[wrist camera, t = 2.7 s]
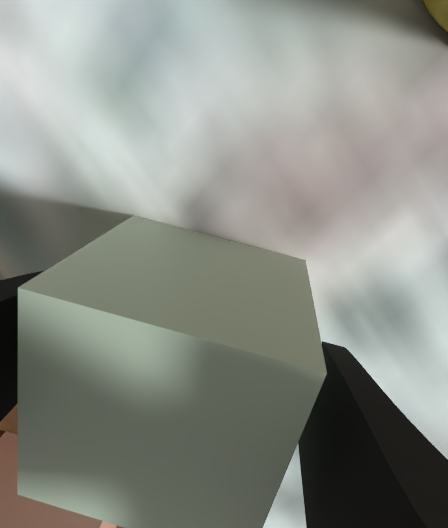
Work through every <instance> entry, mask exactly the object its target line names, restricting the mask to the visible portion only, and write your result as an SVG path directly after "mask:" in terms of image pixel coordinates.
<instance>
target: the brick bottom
mask: <svg viewBox="0 0 448 528" xmlns="http://www.w3.org/2000/svg"><path fill="white" fill-rule="evenodd" d="M326 374H327V371H326V365H325V360H324V355H323V350H322V344H321V339H320V334H319V329H318V323H317V318H316V313H315V308H314V302H313V297H312V292H311V287H310V281H309V276H308V271H307V266H306V260H302V259H299V258H295V257H291V256H287V255H283V254H279V253H276V252H272V251H268V250H264V249H260V248H256V247H253V246H249V245H245V244H241V243H237V242H233V241H230V240H226V239H222V238H218V237H214V236H210V235H207V234H203V233H199V232H195V231H191V230H187V229H184V228H180V227H176V226H172V225H168V224H164V223H161V222H157V221H153V220H149V219H145V218H141V217H138V216H134V215H133V216H132V217H130V218H129V219H127V220H125V221H124V222H122V223H121V224H119V225H117V226H116V227H114V228H113V229H111V230H109V231H108V232H106V233H105V234H103V235H101V236H100V237H98V238H97V239H95V240H93V241H92V242H90V243H89V244H87V245H85V246H84V247H82V248H81V249H79V250H77V251H76V252H74V253H73V254H71V255H69V256H68V257H66V258H65V259H63V260H61V261H60V262H58V263H57V264H55V265H53V266H52V267H50V268H49V269H47V270H45V271H44V272H42V273H41V274H39V275H37V276H36V277H34V278H33V279H31V280H29V281H28V282H26V283H25V284H23V285H21V286H20V287H18V449H17V495H20V496H23V497H27V498H30V499H33V500H37V501H40V502H43V503H46V504H50V505H53V506H56V507H59V508H63V509H66V510H69V511H72V512H76V513H79V514H82V515H85V516H89V517H92V518H95V519H98V520H102V521H105V522H108V523H112V524H115V525H118V526H121V527H125V528H263V525H264V523H265V520H266V518H267V516H268V513H269V511H270V508H271V506H272V504H273V501H274V499H275V496H276V494H277V492H278V489H279V487H280V484H281V482H282V480H283V477H284V475H285V473H286V470H287V468H288V465H289V463H290V461H291V458H292V456H293V453H294V451H295V449H296V446H297V444H298V441H299V439H300V437H301V434H302V432H303V429H304V427H305V425H306V422H307V420H308V417H309V415H310V413H311V410H312V408H313V405H314V403H315V401H316V398H317V396H318V393H319V391H320V389H321V386H322V384H323V382H324V379H325V377H326Z"/></svg>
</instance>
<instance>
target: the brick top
mask: <svg viewBox="0 0 448 528" xmlns="http://www.w3.org/2000/svg"><path fill="white" fill-rule="evenodd" d="M17 449H18V435H16V434H13V433H9V432H5V433H4V434H3V435H2V436H1V437H0V528H116V526H117V525H115V524H112V523H108V522H105V521H102V520H98V519H95V518H92V517H89V516H85V515H82V514H79V513H76V512H72V511H69V510H66V509H63V508H59V507H56V506H53V505H50V504H46V503H43V502H40V501H37V500H33V499H30V498H27V497H23V496H20V495H17Z"/></svg>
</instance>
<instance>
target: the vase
mask: <svg viewBox="0 0 448 528" xmlns="http://www.w3.org/2000/svg"><path fill="white" fill-rule="evenodd" d="M423 2H424V3H425V5H426V7H427V9H428V11H429V12H430V14H431V15H432V16H433V18H434V19H435V20H436V21H437V23H438V24H439V25H441V26H442V27H443V28H444V29H445V30H446V31H447V32H448V0H423Z"/></svg>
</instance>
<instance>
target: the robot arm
mask: <svg viewBox="0 0 448 528" xmlns="http://www.w3.org/2000/svg"><path fill="white" fill-rule="evenodd" d="M42 272H44V271H41V272H36V273H31V274H27V275H22V276H18V277H14V278H9V279H5V280H1V281H0V421H1V420H2V419H3V418H4V417H5V416H6V415H7V414H8V413H9V412H10V411H11V410H12V409H13V407H14V406H15V405H16V404H17V403H18V287H20V286H21V285H23V284H25V283H26V282H28V281H29V280H31V279H33V278H34V277H36V276H37V275H39V274H41V273H42ZM322 350H323V355H324V360H325V365H326V371H327V374H326V377H325V379H324V382H323V384H322V386H321V389H320V391H319V393H318V396H317V398H316V401H315V403H314V405H313V408H312V410H311V413H310V415H309V417H308V420H307V422H306V425H305V427H304V429H303V432H302V434H301V437H300V439H299V441H298V443H299V454H300V465H301V475H302V485H303V495H304V505H305V515H306V525H307V528H448V459H446V458H445V457H444V456H443V455H442V454H441V453H440V452H439V451H438V450H437V449H436V448H435V447H434V446H433V445H432V444H431V443H430V442H429V441H428V440H427V439H426V438H425V436H424V435H423V434H422V433H421V432H420V431H419V430H418V429H417V428H416V427H415V426H414V425H413V424H412V423H411V422H410V421H409V420H408V419H407V417H406V416H405V415H404V414H403V413H402V412H401V411H400V410H399V409H398V408H397V406H396V405H395V404H394V403H393V402H392V401H391V400H390V398H389V397H388V396H387V395H386V394H385V393H384V392H383V390H382V389H381V388H380V387H379V386H378V384H377V383H376V382H375V381H374V380H373V379H372V377H371V376H370V375H369V374H368V373H367V371H366V370H365V369H364V368H363V367H362V365H361V364H360V363H359V362H358V361H357V360H356V358H355V357H354V356H353V355H352V354H351V353H350V352H349V351H348V350H347V349H346V348H345V347H341V346H337V345H334V344H330V343H326V342H323V341H322Z"/></svg>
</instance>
